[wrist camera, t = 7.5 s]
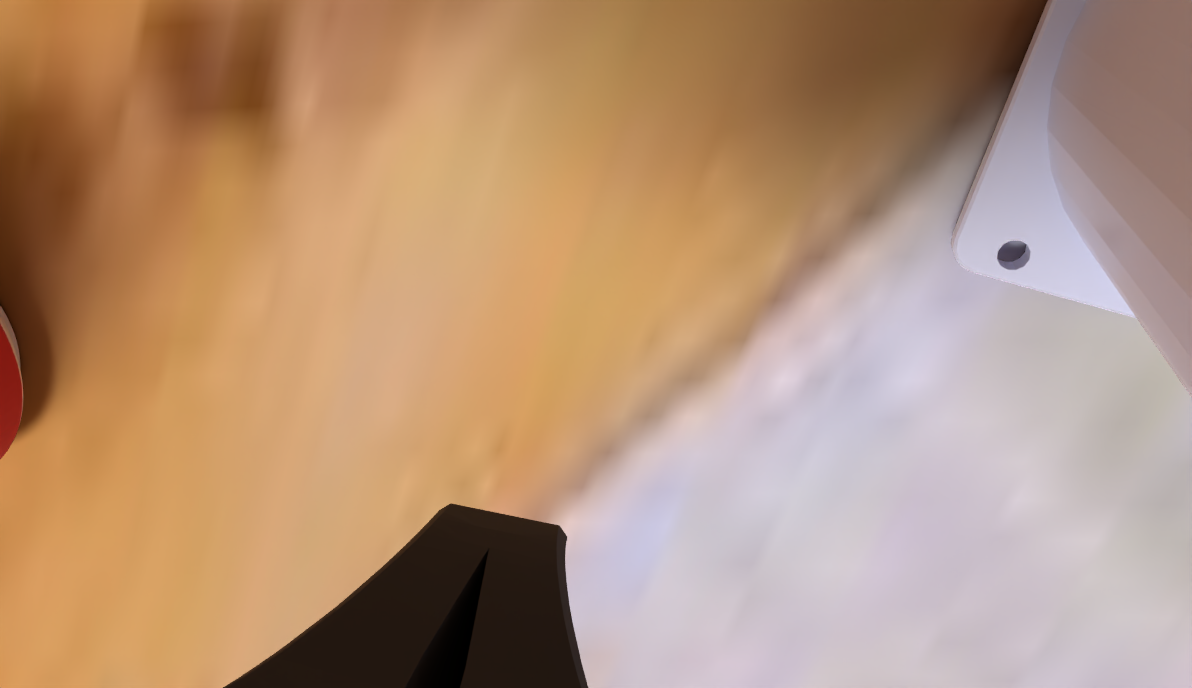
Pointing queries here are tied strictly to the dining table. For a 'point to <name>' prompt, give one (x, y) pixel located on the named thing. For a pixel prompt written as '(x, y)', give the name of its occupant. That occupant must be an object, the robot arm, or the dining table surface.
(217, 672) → the dining table surface
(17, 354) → the beverage can
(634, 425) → the dining table surface
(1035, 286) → the robot arm
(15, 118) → the dining table surface
